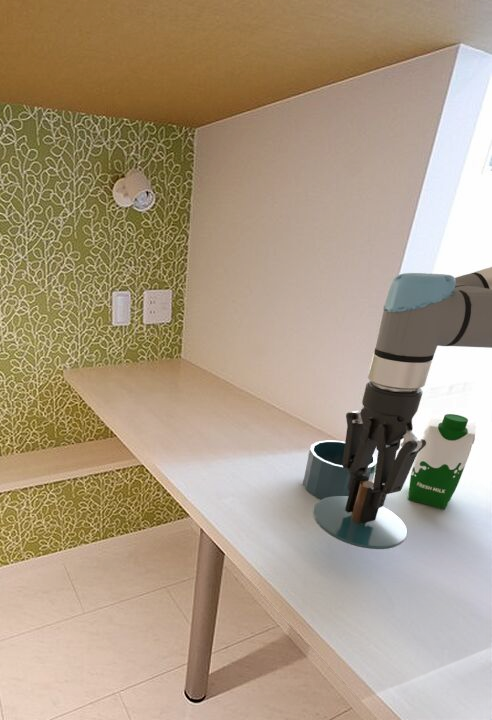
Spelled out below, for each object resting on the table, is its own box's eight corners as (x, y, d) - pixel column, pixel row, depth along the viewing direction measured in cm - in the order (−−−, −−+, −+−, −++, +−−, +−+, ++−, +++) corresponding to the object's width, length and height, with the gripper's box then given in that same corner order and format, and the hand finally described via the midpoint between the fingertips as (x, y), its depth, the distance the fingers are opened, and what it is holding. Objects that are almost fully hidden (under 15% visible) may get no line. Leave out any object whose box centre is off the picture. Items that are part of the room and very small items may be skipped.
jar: (380, 500, 96) (392, 462, 91) (331, 512, 91) (340, 472, 87) (336, 472, 107) (344, 437, 103) (290, 480, 103) (297, 444, 99)
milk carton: (402, 500, 96) (430, 416, 87) (407, 482, 103) (432, 403, 94) (449, 513, 92) (483, 426, 83) (450, 494, 98) (482, 412, 90)
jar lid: (426, 541, 72) (441, 499, 68) (355, 561, 67) (368, 517, 64) (358, 495, 84) (367, 458, 81) (294, 509, 80) (302, 470, 76)
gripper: (463, 398, 59) (415, 537, 69) (372, 368, 73) (343, 488, 83) (422, 404, 57) (379, 547, 67) (336, 372, 70) (311, 495, 80)
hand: (359, 514), depth 75 cm, fingers closed on jar lid, 3 cm apart
